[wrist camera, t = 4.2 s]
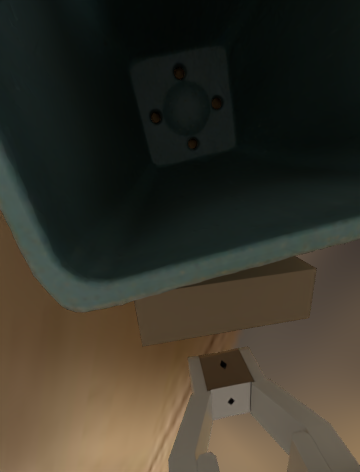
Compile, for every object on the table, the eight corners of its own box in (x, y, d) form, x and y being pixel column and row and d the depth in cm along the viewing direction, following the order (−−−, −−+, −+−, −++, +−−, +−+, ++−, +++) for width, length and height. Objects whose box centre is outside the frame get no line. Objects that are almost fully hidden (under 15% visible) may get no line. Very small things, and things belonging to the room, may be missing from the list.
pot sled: (310, -7, 9) (573, -312, 3) (287, 247, 13) (390, 304, 7) (24, -7, 8) (-313, -474, 2) (93, 273, 12) (37, 364, 6)
